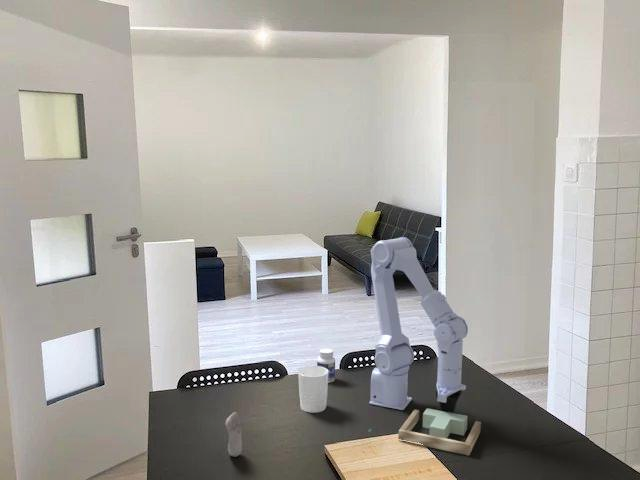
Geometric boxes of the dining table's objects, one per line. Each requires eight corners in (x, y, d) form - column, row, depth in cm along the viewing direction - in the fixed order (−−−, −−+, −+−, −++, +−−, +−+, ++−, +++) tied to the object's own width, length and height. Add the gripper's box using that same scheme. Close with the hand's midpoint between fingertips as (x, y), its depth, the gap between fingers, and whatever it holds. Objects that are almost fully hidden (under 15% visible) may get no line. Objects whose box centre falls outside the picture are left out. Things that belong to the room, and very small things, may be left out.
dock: (398, 440, 143) (398, 430, 143) (414, 418, 155) (414, 409, 155) (469, 455, 136) (469, 445, 136) (480, 431, 148) (480, 421, 148)
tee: (415, 437, 145) (416, 423, 144) (426, 421, 153) (426, 408, 153) (458, 446, 141) (458, 432, 140) (466, 429, 149) (467, 415, 149)
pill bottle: (330, 384, 177) (330, 354, 176) (314, 381, 179) (314, 352, 178) (337, 378, 182) (338, 349, 180) (321, 375, 184) (321, 346, 182)
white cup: (325, 415, 157) (325, 377, 155) (295, 412, 158) (294, 375, 157) (330, 402, 164) (331, 366, 163) (302, 400, 166) (302, 364, 164)
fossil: (227, 448, 139) (226, 406, 138) (242, 448, 139) (242, 406, 138) (225, 461, 133) (224, 418, 132) (241, 461, 134) (241, 417, 132)
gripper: (459, 379, 142) (457, 434, 144) (472, 359, 155) (470, 410, 157) (429, 374, 145) (427, 428, 147) (444, 355, 158) (442, 405, 160)
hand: (447, 419), depth 152 cm, fingers closed
